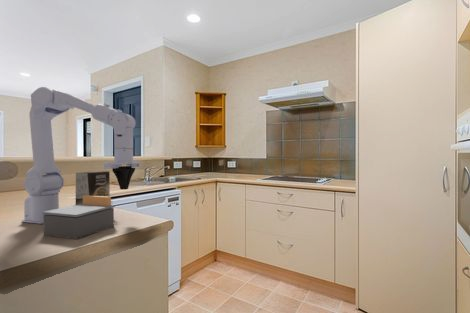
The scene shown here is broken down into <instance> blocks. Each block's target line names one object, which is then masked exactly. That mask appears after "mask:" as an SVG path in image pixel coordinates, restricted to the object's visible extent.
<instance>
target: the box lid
mask: <svg viewBox="0 0 470 313" xmlns="http://www.w3.org/2000/svg"><path fill="white" fill-rule="evenodd" d="M109 208H115V204H112V197H111V196H110V197H108V196H89V195H85V196H83V203H82V204H77V205H76V204H74V205H69V206H64V207H59V208H58V209H54V210H49V211H44V212H42V214H46V215H57V216H68V217H79V216H83V215H87V214H91V213H94V212H98V211H102V210H106V209H109Z"/></svg>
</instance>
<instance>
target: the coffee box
mask: <svg viewBox="0 0 470 313" xmlns="http://www.w3.org/2000/svg"><path fill="white" fill-rule="evenodd" d="M110 176H111V175H110V171H108V170H106V171H103V170H102V171H100V170H99V171H86V172H75V205H77V204H82V203H83V196H85V195H89V196H108V197H111V196H110V190H111V189H110V187H111V186H110V180H111V178H110Z"/></svg>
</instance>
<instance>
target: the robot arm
mask: <svg viewBox="0 0 470 313" xmlns="http://www.w3.org/2000/svg"><path fill="white" fill-rule="evenodd" d="M30 101H31V107H30V110H29V126H30V136H31V137H30V138H31V149H32V150H31V151H32V160H33V161H32V162H33V166H32V167H31V168H30V169H28V170H27V171H26V173H25V174H26V175H25V176H26V178H25V180H24V184H23V186H24V189H25V191H26V192H27V193H28V194H29V195H28V196H27V197H26V198H25V200H24V202H23V203H24V207H23V208H24V214H23V215H24V218H23V219H21V221H20V222H21V223H22V222H23V223H30V224H38V225H39V224H44V215H46V214H42V212H44V211H49V210H54V209H58V208H60V205H59V204H60V203H59V202H60V200H59V198H60V197H59V196H60V194H59V193H60V192H61V189H63V187H64V184H65V179H64V177H63V176H62V173H61V169H60V168H59V167H58V166H56V165H55V154H54V144H53V143H54V142H53V131H52V120H53V119H54V118H55V117H58V116H60V115H62V114H64V113H65V112H68V111H69V110H73V109H79V110H81V111H84V112H86V113H89V114H91V116H92V118H93V119H94V120H95V121H99V122H100V123H103V124H106V125H108V126H110V127H112V128H113V137H114V138H113V139H114V141H113V142H114V144H113V145H114V146H113V147H114V149H113V150H114V151H113V152H114V156H113V157H114V161H110V162H108V161H107V162H103V169H104V170H106V169H107V170H108V169H111V170H112V173H113V174H114V176H115V177H116V179H117V182H118V185H119V190H128V189H129V186H130V182H131V179H132V176H133V175H134V173H135V171H136V168H137V167H138V168H139V167H140V168H141V167H142V161H134V129H135V127H136V125H137V123H136V119H135V117H133V116H132V115H131V114H127V113H125V112H123V111H122V109H119V108H118V109H115V108H113V107H110V106H111V105H110V104H107V103H105V102H104V103H103V104H102V103H98V104H93V103H91V102H88V101H86V100H84V99H83V98H80V97H78V96H75V95H74V94H73V95H72V94H70V93H68V92H64V91H60V90H56V89H50V88H48V87H45V86H41V87H38V88H36V89H35V90H34V91H33V92H32V93H31V94H30Z"/></svg>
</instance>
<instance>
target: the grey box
mask: <svg viewBox="0 0 470 313" xmlns="http://www.w3.org/2000/svg"><path fill="white" fill-rule="evenodd" d="M114 208H115V207H113V208H109V209H106V210H102V211H98V212H94V213H91V214H87V215H83V216H79V217H68V216H57V215H44V223H43V236H48V237H56V238H62V239H70V240H71V239H72V240H79V239H82V238H84V237H87V236H90V235H93V234H96V233H98V232H101V231H104V230H107V229H110V228H112V227H114V226H115V225H114V223H115V222H114V220H115V219H114V216H115V211H114Z"/></svg>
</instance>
